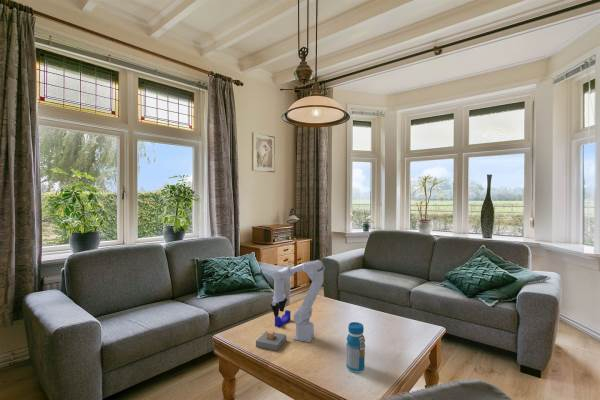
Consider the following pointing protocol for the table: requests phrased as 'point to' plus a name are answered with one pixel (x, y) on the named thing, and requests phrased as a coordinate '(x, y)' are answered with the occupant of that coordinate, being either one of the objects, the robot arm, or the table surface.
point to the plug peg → (270, 335)
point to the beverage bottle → (355, 348)
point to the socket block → (271, 341)
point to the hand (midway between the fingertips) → (279, 313)
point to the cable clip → (283, 319)
